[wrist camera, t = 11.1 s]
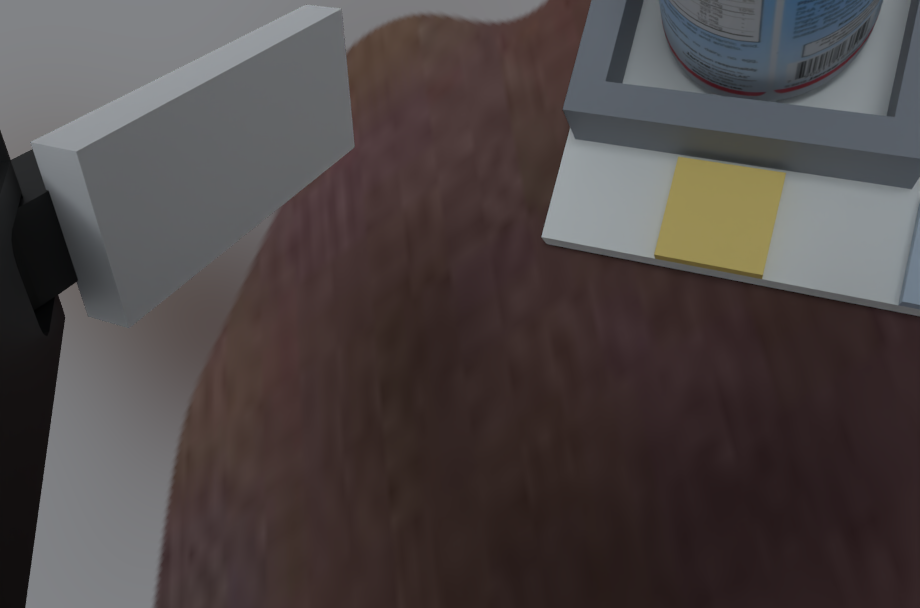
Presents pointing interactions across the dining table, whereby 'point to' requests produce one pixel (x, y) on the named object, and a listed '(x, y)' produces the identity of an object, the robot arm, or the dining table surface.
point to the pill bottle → (766, 42)
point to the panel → (746, 165)
